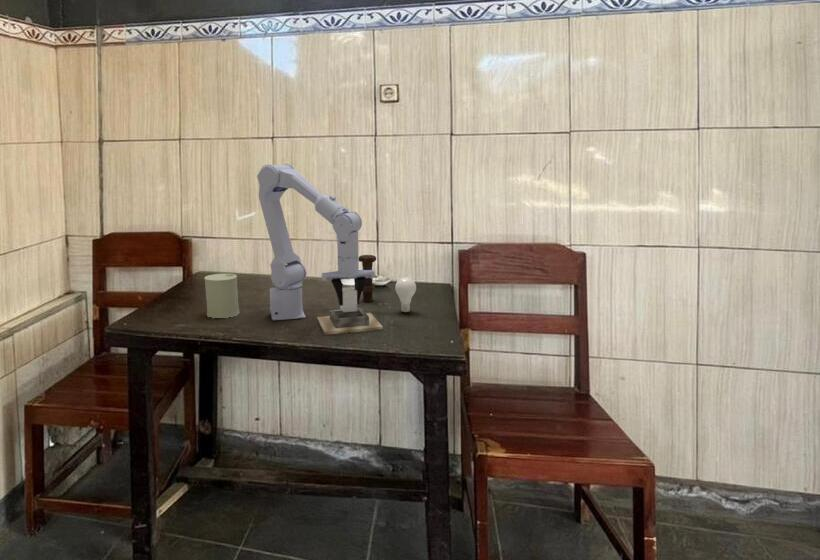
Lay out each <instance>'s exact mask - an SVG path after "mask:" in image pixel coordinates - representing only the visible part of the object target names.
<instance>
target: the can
mask: <svg viewBox="0 0 820 560" xmlns="http://www.w3.org/2000/svg"><path fill="white" fill-rule="evenodd" d="M204 285H205V286H204V287H205V298H206V316H207V318H209V317H212V318H211V319H214V318H225V319H230V318H229V317H231V318H233V317H234V316H235V317H237V316H239V315H240V307H239V293H238V276H237V274H235V273H234V274H233V273H214V274H209V275H205V276H204ZM238 314H239V315H238Z"/></svg>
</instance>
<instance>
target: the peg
mask: <svg viewBox="0 0 820 560" xmlns="http://www.w3.org/2000/svg"><path fill="white" fill-rule="evenodd" d="M342 299H343V305H342V306H340V305H339V306H340V307H339V308H340V309H339V310H342V311H343V312H353V311H357V308H358V304H357V290H356V289H355V286H351V287H350V286H348V287H342Z"/></svg>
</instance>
